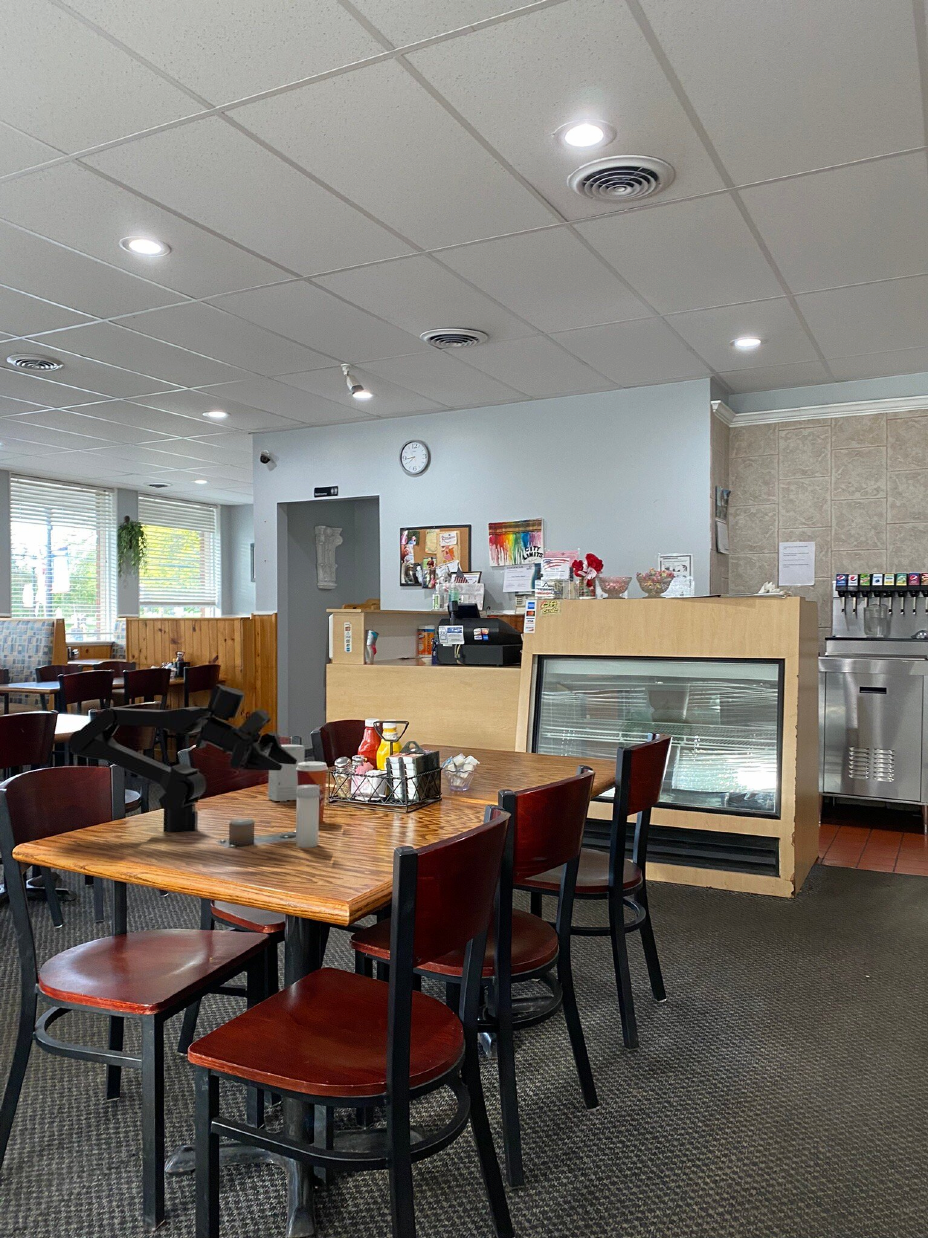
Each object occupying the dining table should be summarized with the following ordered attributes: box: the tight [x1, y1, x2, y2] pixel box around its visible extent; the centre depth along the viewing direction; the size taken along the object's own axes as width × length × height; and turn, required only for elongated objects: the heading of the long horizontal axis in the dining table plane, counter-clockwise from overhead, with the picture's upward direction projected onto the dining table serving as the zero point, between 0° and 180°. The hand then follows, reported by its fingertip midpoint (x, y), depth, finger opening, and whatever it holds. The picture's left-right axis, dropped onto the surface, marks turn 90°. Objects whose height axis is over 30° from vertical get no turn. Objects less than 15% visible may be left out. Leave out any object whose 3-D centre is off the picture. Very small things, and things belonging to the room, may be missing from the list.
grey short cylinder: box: [228, 817, 255, 845], centre depth 188 cm, size 5×5×4 cm
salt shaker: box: [295, 785, 320, 848], centre depth 187 cm, size 5×5×13 cm
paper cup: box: [296, 761, 329, 824], centre depth 215 cm, size 8×8×14 cm
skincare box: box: [267, 744, 306, 802], centre depth 244 cm, size 8×6×15 cm
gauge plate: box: [215, 830, 296, 849], centre depth 191 cm, size 19×8×1 cm, turn 125°
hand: (289, 765), depth 196 cm, fingers open, 9 cm apart
